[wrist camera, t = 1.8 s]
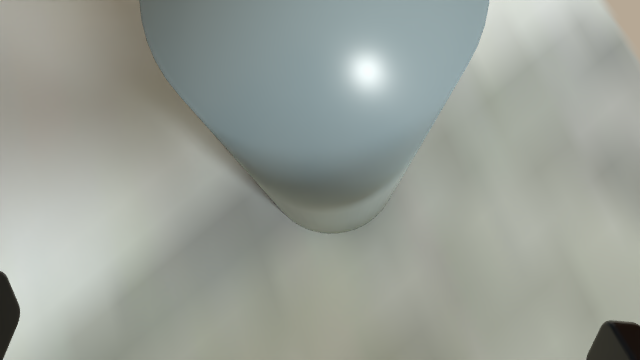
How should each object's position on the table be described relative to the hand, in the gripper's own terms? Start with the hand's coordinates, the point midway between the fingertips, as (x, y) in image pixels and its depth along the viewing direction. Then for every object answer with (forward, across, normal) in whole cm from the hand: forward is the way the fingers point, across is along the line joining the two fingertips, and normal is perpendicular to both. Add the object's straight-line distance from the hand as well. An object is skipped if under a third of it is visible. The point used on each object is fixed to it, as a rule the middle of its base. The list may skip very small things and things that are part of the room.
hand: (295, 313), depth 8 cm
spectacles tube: (+11, 0, +5) cm, 12 cm away
